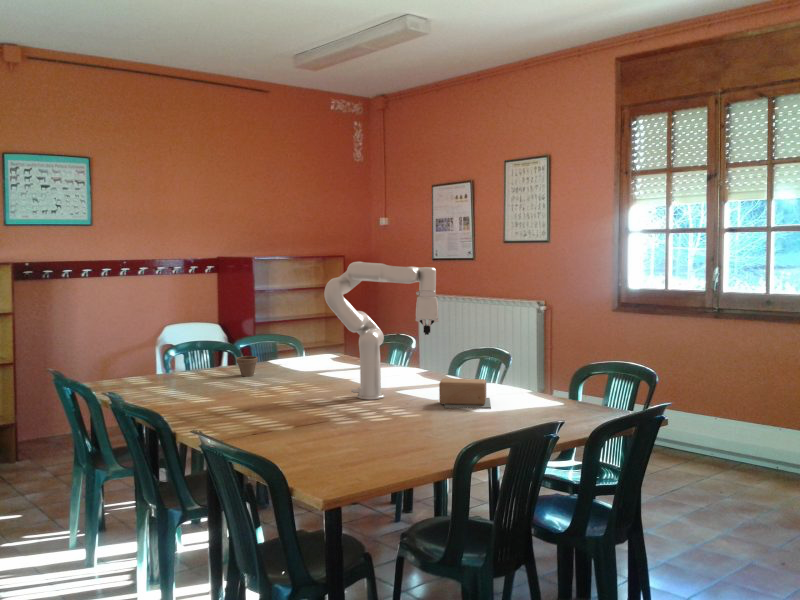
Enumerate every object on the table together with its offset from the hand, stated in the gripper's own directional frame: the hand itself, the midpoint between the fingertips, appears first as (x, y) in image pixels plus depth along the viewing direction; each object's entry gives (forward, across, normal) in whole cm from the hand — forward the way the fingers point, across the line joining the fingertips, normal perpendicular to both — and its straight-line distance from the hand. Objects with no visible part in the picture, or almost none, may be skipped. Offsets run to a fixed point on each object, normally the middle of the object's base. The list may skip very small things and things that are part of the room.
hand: (426, 334), depth 352 cm
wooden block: (+24, +7, -10) cm, 27 cm away
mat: (+29, +20, -8) cm, 36 cm away
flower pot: (+32, -104, +53) cm, 121 cm away
